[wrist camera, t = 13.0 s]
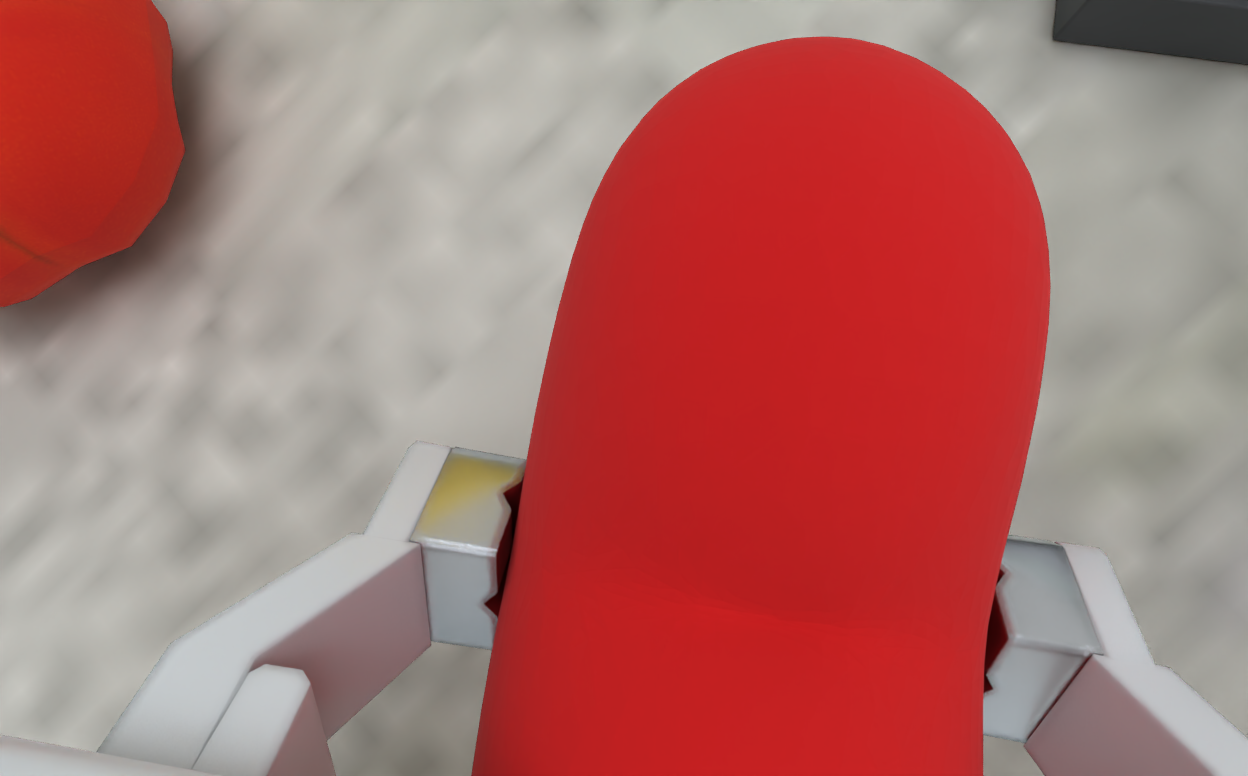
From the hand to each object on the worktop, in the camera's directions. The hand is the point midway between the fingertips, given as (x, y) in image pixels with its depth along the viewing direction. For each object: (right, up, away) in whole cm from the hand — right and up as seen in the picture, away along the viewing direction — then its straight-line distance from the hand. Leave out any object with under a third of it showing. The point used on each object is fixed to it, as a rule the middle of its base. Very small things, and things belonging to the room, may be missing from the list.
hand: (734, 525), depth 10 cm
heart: (0, -1, +5) cm, 6 cm away
